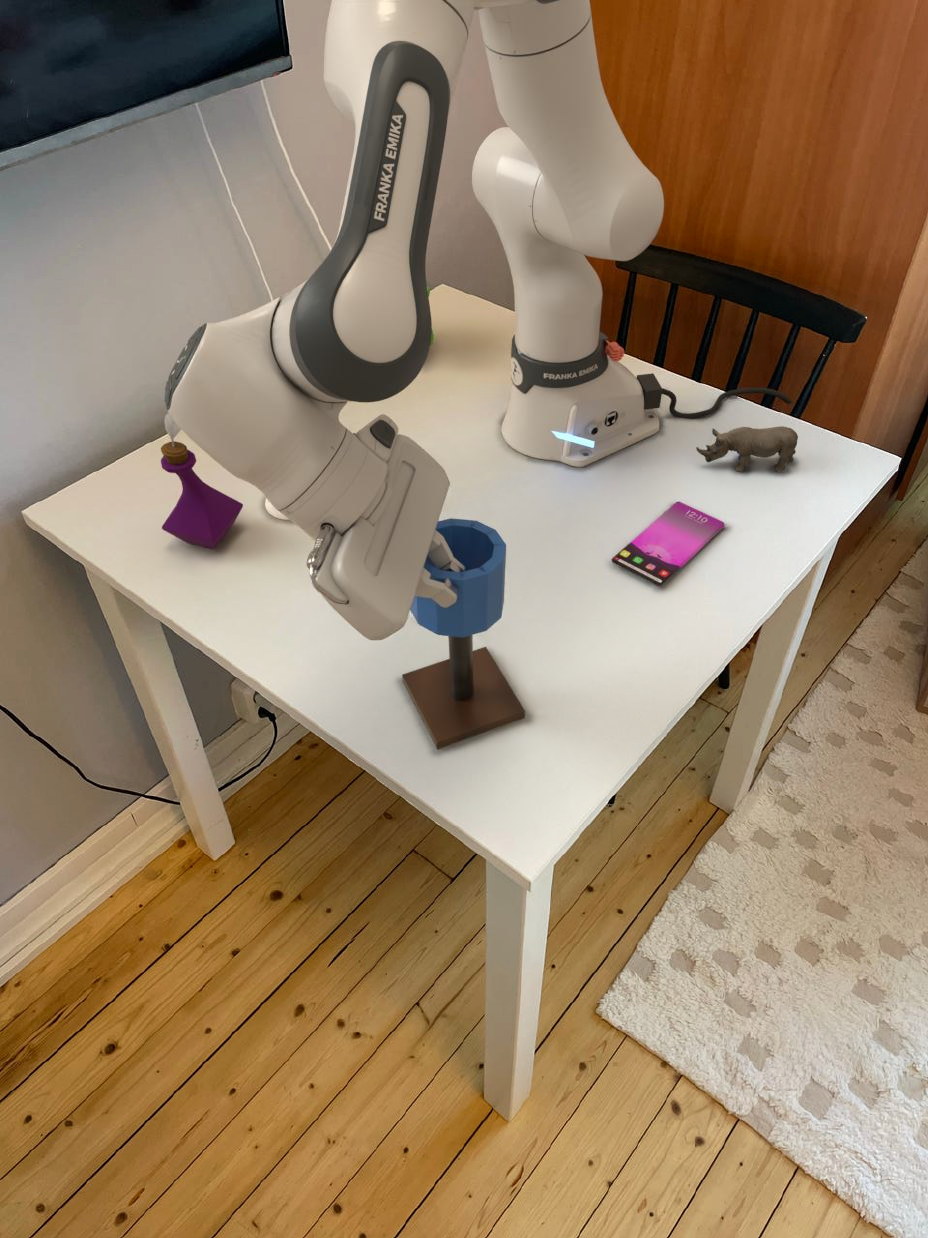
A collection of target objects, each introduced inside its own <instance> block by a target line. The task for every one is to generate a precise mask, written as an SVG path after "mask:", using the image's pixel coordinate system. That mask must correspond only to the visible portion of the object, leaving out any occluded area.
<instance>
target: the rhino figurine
mask: <svg viewBox="0 0 928 1238" xmlns="http://www.w3.org/2000/svg"><path fill="white" fill-rule="evenodd" d="M711 433H712V435H713V436H714V437H715V442H714V443H713V444H706V445H705V448H706V449H702V448H700V447H698V446H695V449H696V451H697V453H698V454H700V455H701V456H703V458H704V459H705V462H706V463H711V462H714V461H716V460H720V459H721V458H723V457H726V455H727V454H728V453H729V451H730V452H736V453H737V454H738V457H737V459H738V460H739V463H738V464H736V466H735V471H736V472H738V473H744V472H746V471H747V470H748V466H747V465H748V463H749V461H750V459H751V457H752V456H753V457H756V458H759V459H760V458H763V459H765V458H767V459H768V458H771V457H773V456H775V455H776V454H778V457H779V459H778V461H777V463H776V464H774V466H773V468H772V470H773V472H777V473H782V472H784V471H785V470H786V467H787V466H786V464H790V463H793V462H795V458H794V455H795V454H796V448H797V445H798V439H799V436H798V433H797V431H796V430H794V429H793V428H791V427H788V426H783V425H782V426H780V425H779V426H772V427H766V428H754V427H748V426H739V427H736V428H733V429H731V430H729V431H727V432H723V433H720V432H718V430H716V429H715V428H712V429H711Z"/></svg>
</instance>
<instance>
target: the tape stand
mask: <svg viewBox="0 0 928 1238" xmlns="http://www.w3.org/2000/svg"><path fill="white" fill-rule="evenodd" d="M447 637H448V657H449V658H447V659H445V660H441V661H438V662H435V663H432V664H429V665H427V666H424V667H421V668H418V669H415V670H412V671H409V672H405V673H403V674H401V678H402V683H403V685H404V688H405V689H406V691H407V693H408V695H409V697H410V699H411V701H412V703H413V705H414V707H415V710H416V712H417V713H418V715H419V717H420V719H421V721H422V723H423V725H424V727H425V729H426V731H427V732H428V734H429V736H430V738H431V741H432V742H433V744H434V747H435V749H436V750H439V749H443V748H446V747H447V746H450V745H453V744H456V743H459V742H462V741H464V740H468V739H470V738H473V737H476V736H479V735H481V734H483V733H487V732H489V731H492V730H495V729H498V728H501V727H503V726H506V725H508V724H511V723H514V722H517V721H520V720H523V719H525V718H526V710H525V708H524V706H523V705H522V703H521V702H520V699H519V698H518V697H517V695H516V694H515V692H514V690H513V689H512V687H511V686H510V684H509V682H508V681H507V679H506V677H505V676H504V674H503V672H502V671H501V669H500V667H499V666H498V664H497V662H496V660H495V659H494V658H493V655H492V654H491V653H490V651H489V649H488V648H487V646H484V647H481V648H477V649H473V648H474V646H473V645H474V643H473V639H474V638H473V635H470V636H466V637H453V636H447Z"/></svg>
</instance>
